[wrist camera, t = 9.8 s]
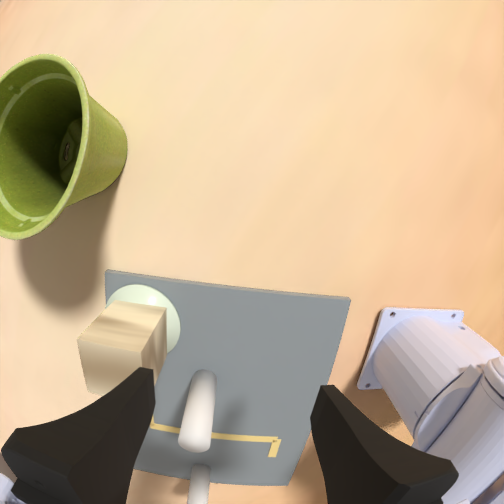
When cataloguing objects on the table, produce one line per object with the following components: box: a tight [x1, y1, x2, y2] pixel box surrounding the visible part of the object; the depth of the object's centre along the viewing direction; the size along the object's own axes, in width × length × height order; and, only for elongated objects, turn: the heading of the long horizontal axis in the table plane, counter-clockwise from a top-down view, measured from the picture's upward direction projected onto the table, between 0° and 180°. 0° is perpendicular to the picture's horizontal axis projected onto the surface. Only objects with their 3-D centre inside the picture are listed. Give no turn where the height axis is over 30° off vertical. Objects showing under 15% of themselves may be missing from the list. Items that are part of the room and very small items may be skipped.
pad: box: [105, 284, 181, 353], centre depth 20 cm, size 6×6×1 cm
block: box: [77, 300, 167, 396], centre depth 17 cm, size 4×4×6 cm
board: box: [105, 270, 351, 504], centre depth 20 cm, size 18×24×8 cm
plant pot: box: [0, 54, 127, 240], centre depth 14 cm, size 9×9×9 cm
